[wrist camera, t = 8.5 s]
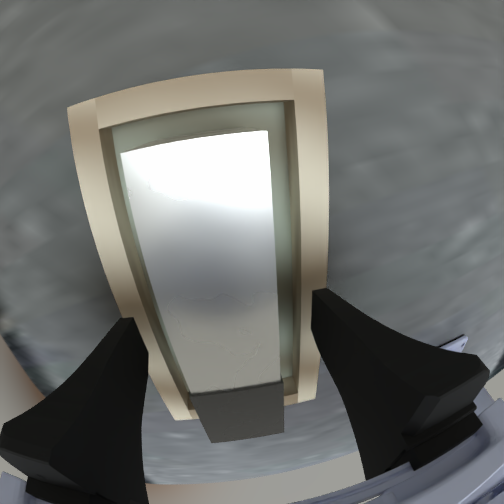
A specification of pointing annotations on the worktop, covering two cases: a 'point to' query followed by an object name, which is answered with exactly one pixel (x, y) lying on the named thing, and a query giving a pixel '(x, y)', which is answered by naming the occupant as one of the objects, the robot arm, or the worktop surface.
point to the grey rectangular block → (214, 271)
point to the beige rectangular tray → (282, 185)
